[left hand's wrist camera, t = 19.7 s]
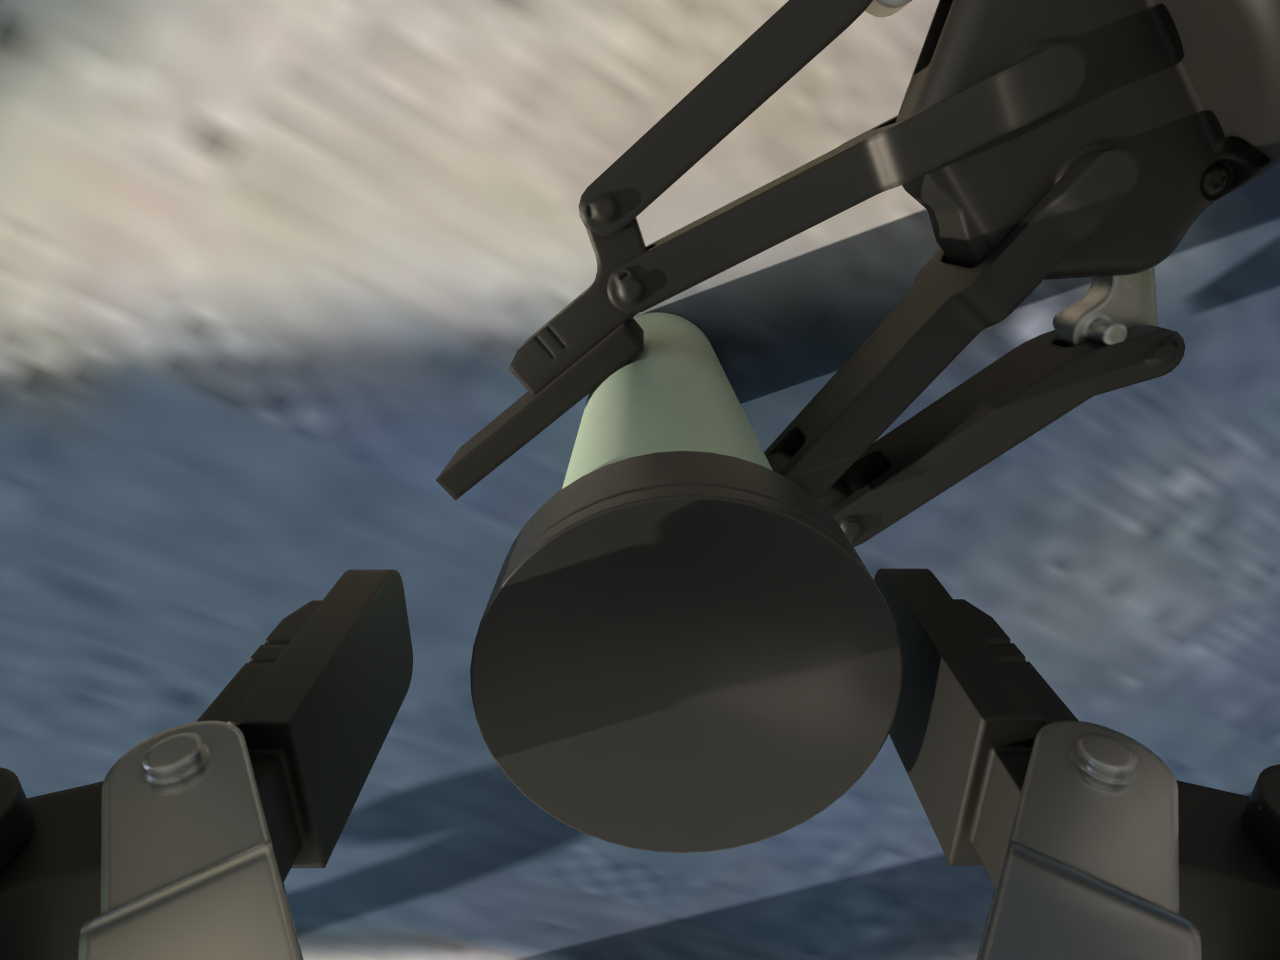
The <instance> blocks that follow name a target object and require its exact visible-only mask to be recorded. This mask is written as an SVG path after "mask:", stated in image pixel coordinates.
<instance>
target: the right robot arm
mask: <svg viewBox="0 0 1280 960" xmlns="http://www.w3.org/2000/svg"><path fill="white" fill-rule="evenodd" d="M911 1H912V0H789V1H788V2H787V3H786V4H785V5H784V6H783V7H782V8H780V9H779V10H778V11H777V12H776V13H775V14H774V15H773V16H772V17H771V18H770V19H769V20H768V21H766V22H765V23H764V24H763V25H762V26H761V27H760V28H759V29H758V30H757V31H756V32H755V33H753V34H752V35H751V36H750V37H749V38H748V39H747V40H746V41H745V42H744V43H743V44H742V45H741V46H739V47H738V48H737V49H736V50H735V51H734V52H733V53H732V54H731V55H730V56H729V57H728V58H727V59H725V60H724V61H723V62H722V63H721V64H720V65H719V66H718V67H717V68H716V69H715V70H714V71H713V72H711V73H710V74H709V75H708V76H707V77H706V78H705V79H704V80H703V81H702V82H701V83H700V84H699V85H697V86H696V87H695V88H694V89H693V90H692V91H691V92H690V93H689V94H688V95H687V96H686V97H684V98H683V99H682V100H681V101H680V102H679V103H678V104H677V105H676V106H675V107H674V108H673V109H672V110H670V111H669V112H668V113H667V114H666V115H665V116H664V117H663V118H662V119H661V120H660V121H659V122H658V123H656V124H655V125H654V126H653V127H652V128H651V129H650V130H649V131H648V132H647V133H646V134H645V135H644V136H642V137H641V138H640V139H639V140H638V141H637V142H636V143H635V144H634V145H633V146H632V147H631V148H630V149H628V150H627V151H626V152H625V153H624V154H623V155H622V156H621V157H620V158H619V159H618V160H617V161H615V162H614V163H613V164H612V165H611V166H610V167H609V168H608V169H607V170H606V171H605V172H604V173H603V174H601V175H600V176H599V177H598V178H597V179H596V180H595V181H594V182H593V183H592V184H591V185H590V186H589V187H588V188H587V189H586V190H585V192H584V193H583V194H582V196H581V200H580V204H579V211H580V217H581V219H582V221H583V223H584V225H585V227H586V229H587V232H588V235H589V238H590V241H591V244H592V247H593V249H594V252H595V255H596V259H597V275H596V279H595V281H594V283H593V284H592V285H591V286H590V287H589V288H588V289H587V290H585V291H584V292H583V293H582V294H581V295H579V296H578V297H577V298H576V299H575V300H574V301H572V302H571V303H570V304H569V305H568V306H567V307H565V308H564V309H563V310H562V311H561V312H559V313H558V314H557V315H556V316H555V317H554V318H552V319H551V320H550V321H549V322H548V323H547V324H545V325H544V326H543V327H542V328H541V329H539V330H538V331H537V332H536V333H535V334H534V335H532V336H531V337H530V338H529V339H528V340H527V341H526V342H525V343H524V344H523V345H522V346H521V347H520V349H519V350H518V351H517V353H516V355H515V357H514V359H513V361H512V363H511V365H510V367H509V370H510V371H511V372H512V373H513V374H514V375H515V377H516V378H517V379H518V380H519V381H520V382H521V383H522V385H523V386H524V387H525V388H526V389H527V390H528V392H527V393H526V394H524V395H523V396H522V397H521V398H520V399H518V400H517V401H516V402H515V403H514V404H512V405H511V406H510V407H509V408H508V409H506V410H505V411H504V412H503V413H501V414H500V415H499V416H498V417H497V418H495V419H494V420H493V421H492V422H491V423H489V424H488V425H487V426H486V427H485V428H483V429H482V430H481V431H480V432H478V433H477V434H476V435H475V436H474V437H472V438H471V439H470V440H469V441H468V442H466V443H465V444H464V445H463V446H462V447H460V449H459V450H458V451H457V453H456V454H455V455H454V457H453V458H452V459H451V461H450V462H449V463H448V465H447V466H446V467H445V469H444V470H443V471H442V473H441V474H440V475H439V477H438V478H437V479H436V481H437V482H438V483H439V484H440V485H441V486H442V487H443V488H444V489H445V490H446V491H447V492H448V493H449V494H450V495H451V496H452V497H453V498H454V499H455V500H457V499H458V498H459V497H460V496H462V495H463V494H464V493H465V492H467V491H468V490H469V489H470V488H472V487H473V486H474V485H475V484H477V483H478V482H479V481H480V480H482V479H483V478H484V477H485V476H487V475H488V474H489V473H490V472H492V471H493V470H494V469H495V468H497V467H498V466H499V465H500V464H501V463H503V462H504V461H505V460H506V459H508V458H509V457H510V456H511V455H513V454H514V453H515V452H516V451H518V450H519V449H520V448H521V447H523V446H524V445H525V444H526V443H528V442H529V441H530V440H531V439H533V438H534V437H535V436H536V435H538V434H539V433H540V432H541V431H543V430H544V429H545V428H546V427H548V426H549V425H550V424H551V423H553V422H554V421H555V420H556V419H558V418H559V417H560V416H561V415H562V414H564V413H565V412H566V411H567V410H569V409H570V408H571V407H572V406H574V405H575V404H576V403H577V402H579V401H580V400H581V399H582V398H584V397H585V396H586V395H587V394H589V393H590V392H591V391H592V390H594V389H595V388H596V387H597V386H599V385H600V384H601V383H602V382H604V381H605V380H606V379H607V378H608V377H609V376H611V375H612V374H614V373H615V372H616V371H617V370H619V369H620V368H621V367H622V366H623V365H625V364H626V363H627V362H628V361H630V360H631V359H632V358H633V357H635V356H636V355H637V354H638V353H640V352H641V351H642V350H643V349H644V330H643V329H642V328H641V327H640V325H639V324H638V323H637V322H636V320H635V319H634V318H633V317H634V316H635V315H636V314H637V313H639V312H643V311H645V310H647V309H649V308H651V307H653V306H655V305H657V304H659V303H661V302H663V301H665V300H667V299H669V298H671V297H673V296H675V295H677V294H679V293H681V292H683V291H685V290H687V289H689V288H691V287H693V286H695V285H697V284H699V283H701V282H703V281H705V280H707V279H709V278H711V277H713V276H715V275H717V274H719V273H721V272H723V271H725V270H727V269H729V268H731V267H733V266H735V265H737V264H739V263H741V262H743V261H745V260H747V259H749V258H751V257H753V256H755V255H757V254H759V253H761V252H763V251H765V250H767V249H769V248H771V247H773V246H775V245H777V244H779V243H781V242H783V241H785V240H787V239H789V238H791V237H793V236H795V235H797V234H799V233H801V232H803V231H805V230H807V229H809V228H811V227H813V226H815V225H817V224H819V223H821V222H823V221H825V220H827V219H829V218H831V217H833V216H835V215H837V214H839V213H841V212H843V211H845V210H847V209H849V208H851V207H853V206H855V205H857V204H859V203H861V202H863V201H865V200H867V199H869V198H871V197H873V196H875V195H877V194H879V193H881V192H883V191H886V190H889V189H892V188H894V187H897V186H900V185H902V186H903V188H904V189H905V190H906V191H907V192H908V193H909V194H910V195H911V196H912V197H914V198H915V199H916V200H917V201H918V202H919V203H920V204H922V205H923V206H924V207H925V208H926V209H927V210H928V213H929V216H930V220H931V223H932V227H933V231H934V234H935V238H936V241H937V242H938V244H939V246H940V247H941V249H940V250H939V251H938V252H937V253H936V254H935V255H934V257H933V258H932V259H931V260H930V261H929V262H928V263H927V264H926V265H925V266H924V268H923V269H922V270H921V271H920V273H919V274H918V276H917V277H916V280H915V285H914V287H913V288H912V290H911V291H910V292H909V293H908V294H907V295H906V297H905V298H904V299H903V300H902V301H901V302H900V303H899V304H898V305H897V306H896V308H895V309H894V310H893V311H892V312H891V313H890V314H889V315H888V316H887V317H886V319H885V320H884V321H883V322H882V323H881V324H880V325H879V326H878V327H877V328H876V330H875V331H874V332H873V333H872V334H871V335H870V336H869V337H868V338H867V339H866V341H865V342H864V343H863V344H862V345H861V346H860V347H859V348H858V349H857V351H856V352H855V353H854V354H853V355H852V356H851V357H850V358H849V359H848V360H847V362H846V363H845V364H844V365H843V366H842V367H841V368H840V369H839V370H838V371H837V373H836V374H835V375H834V376H833V377H832V378H831V379H830V380H829V381H828V382H827V384H826V385H825V386H824V387H823V388H822V389H821V390H820V391H819V392H818V394H817V395H816V396H815V397H814V398H813V399H812V400H811V401H810V402H809V403H808V405H807V406H806V407H805V408H804V409H803V410H802V411H801V412H800V413H799V414H798V416H797V417H796V418H795V419H794V420H793V421H792V422H791V423H790V424H789V425H788V427H787V428H786V429H785V430H784V431H783V432H782V433H781V434H780V435H779V437H778V438H777V439H776V440H775V441H774V442H773V443H772V444H771V445H770V446H769V448H768V449H767V450H766V451H765V452H764V454H765V456H766V458H767V460H768V462H769V464H770V466H771V468H772V470H773V471H774V472H776V473H779V474H781V475H783V476H785V477H786V478H788V479H789V480H791V481H792V482H794V483H795V484H797V485H798V486H800V487H802V488H803V489H805V490H806V491H807V492H808V493H809V494H810V495H812V496H813V497H814V498H815V499H816V500H817V501H818V502H820V503H821V504H822V505H823V506H824V507H825V508H826V509H827V511H828V512H829V513H830V514H831V515H832V516H833V518H834V519H835V520H836V521H837V522H838V523H839V525H840V527H841V528H842V530H843V531H844V533H845V535H846V536H847V538H848V539H849V541H850V542H851V544H852V546H853V547H855V546H857V545H860V544H862V543H864V542H865V541H867V540H868V539H870V538H872V537H873V536H875V535H876V534H878V533H879V532H881V531H883V530H884V529H886V528H887V527H889V526H890V525H892V524H893V523H895V522H897V521H898V520H900V519H901V518H903V517H904V516H906V515H908V514H909V513H911V512H912V511H914V510H915V509H917V508H919V507H920V506H922V505H923V504H925V503H926V502H928V501H930V500H931V499H933V498H934V497H936V496H937V495H939V494H940V493H942V492H944V491H945V490H947V489H948V488H950V487H951V486H953V485H955V484H956V483H958V482H959V481H961V480H962V479H964V478H966V477H967V476H969V475H970V474H972V473H973V472H975V471H977V470H978V469H980V468H981V467H983V466H984V465H986V464H988V463H989V462H991V461H992V460H994V459H995V458H997V457H998V456H1000V455H1002V454H1003V453H1005V452H1006V451H1008V450H1009V449H1011V448H1013V447H1014V446H1016V445H1017V444H1019V443H1020V442H1022V441H1024V440H1025V439H1027V438H1028V437H1030V436H1031V435H1033V434H1035V433H1036V432H1038V431H1039V430H1041V429H1042V428H1044V427H1045V426H1047V425H1049V424H1050V423H1052V422H1053V421H1055V420H1056V419H1058V418H1060V417H1061V416H1063V415H1064V414H1066V413H1067V412H1069V411H1071V410H1072V409H1074V408H1075V407H1077V406H1078V405H1080V404H1082V403H1083V402H1085V401H1086V400H1088V399H1089V398H1091V397H1093V396H1095V395H1098V394H1102V393H1105V392H1109V391H1112V390H1116V389H1119V388H1122V387H1126V386H1129V385H1133V384H1136V383H1140V382H1143V381H1146V380H1150V379H1153V378H1157V377H1160V376H1163V375H1165V374H1167V373H1169V372H1171V371H1172V370H1173V369H1174V368H1175V367H1176V366H1177V365H1179V363H1180V361H1181V359H1182V358H1183V356H1184V350H1185V344H1184V340H1183V338H1182V337H1181V336H1180V335H1179V334H1178V333H1177V332H1175V331H1172V330H1169V329H1165V328H1160V327H1158V325H1157V308H1156V290H1155V271H1154V266H1156V265H1157V264H1159V263H1160V262H1162V261H1163V260H1164V259H1165V258H1167V257H1168V256H1169V255H1170V254H1171V253H1172V252H1173V250H1174V249H1175V248H1176V247H1177V246H1178V244H1179V243H1180V241H1181V240H1182V238H1183V236H1184V235H1185V233H1186V231H1187V230H1188V229H1189V227H1190V226H1191V225H1192V223H1193V222H1194V221H1195V220H1196V218H1197V217H1198V216H1199V215H1200V214H1201V213H1202V212H1203V211H1204V210H1205V209H1206V208H1207V207H1208V206H1209V205H1210V204H1212V203H1213V202H1214V201H1216V200H1218V199H1219V198H1221V197H1222V196H1224V195H1226V194H1228V193H1229V192H1231V191H1233V190H1235V189H1237V188H1238V187H1240V186H1242V185H1244V184H1245V183H1247V182H1249V181H1251V180H1252V179H1254V178H1256V177H1257V176H1259V175H1261V174H1262V173H1264V172H1266V171H1267V170H1269V169H1270V168H1272V167H1274V166H1275V165H1276V164H1278V163H1279V162H1280V0H940V1H939V4H938V6H937V9H936V12H935V15H934V17H933V20H932V23H931V26H930V28H929V31H928V34H927V37H926V39H925V42H924V45H923V48H922V50H921V53H920V56H919V59H918V61H917V64H916V67H915V70H914V72H913V75H912V78H911V81H910V83H909V86H908V89H907V92H906V94H905V97H904V100H903V103H902V105H901V108H900V111H899V114H898V116H896V117H894V118H892V119H890V120H888V121H886V122H884V123H882V124H880V125H878V126H876V127H874V128H872V129H871V130H869V131H867V132H865V133H863V134H861V135H859V136H857V137H855V138H853V139H851V140H849V141H847V142H846V143H844V144H842V145H841V146H839V147H838V148H836V149H834V150H832V151H830V152H828V153H826V154H824V155H822V156H820V157H818V158H817V159H815V160H813V161H811V162H809V163H807V164H805V165H803V166H801V167H799V168H797V169H795V170H793V171H791V172H789V173H787V174H786V175H784V176H782V177H780V178H778V179H776V180H774V181H772V182H770V183H768V184H766V185H764V186H762V187H760V188H758V189H757V190H755V191H753V192H751V193H749V194H747V195H745V196H743V197H741V198H739V199H737V200H735V201H733V202H731V203H729V204H727V205H726V206H724V207H722V208H720V209H718V210H716V211H714V212H712V213H710V214H708V215H706V216H704V217H702V218H700V219H698V220H696V221H695V222H693V223H691V224H689V225H687V226H685V227H683V228H681V229H679V230H677V231H675V232H673V233H671V234H669V235H667V236H665V237H664V238H662V239H660V240H658V241H656V242H654V243H652V244H650V245H648V246H645V243H644V240H643V237H642V234H641V231H640V228H639V225H638V222H637V219H636V216H637V215H639V214H640V213H641V212H642V211H643V210H644V209H645V208H646V207H648V206H649V205H650V204H651V203H652V202H653V201H654V200H655V199H656V198H658V197H659V196H660V195H661V194H662V193H663V192H664V191H665V190H667V189H668V188H669V187H670V186H671V185H672V184H673V183H674V182H675V181H677V180H678V179H679V178H680V177H681V176H682V175H683V174H684V173H686V172H687V171H688V170H689V169H690V168H691V167H692V166H693V165H694V164H696V163H697V162H698V161H699V160H700V159H701V158H702V157H703V156H705V155H706V154H707V153H708V152H709V151H710V150H711V149H712V148H713V147H715V146H716V145H717V144H718V143H719V142H720V141H721V140H722V139H724V138H725V137H726V136H727V135H728V134H729V133H730V132H731V131H732V130H734V129H735V128H736V127H737V126H738V125H739V124H740V123H741V122H743V121H744V120H745V119H746V118H747V117H748V116H749V115H750V114H751V113H753V112H754V111H755V110H756V109H757V108H758V107H759V106H760V105H762V104H763V103H764V102H765V101H766V100H767V99H768V98H769V97H771V96H772V95H773V94H774V93H775V92H776V91H777V90H778V89H779V88H781V87H782V86H783V85H784V84H785V83H786V82H787V81H788V80H790V79H791V78H792V77H793V76H794V75H795V74H796V73H797V72H798V71H800V70H801V69H802V68H803V67H804V66H805V65H806V64H807V63H809V62H810V61H811V60H812V59H813V58H814V57H815V56H816V55H817V54H819V53H820V52H821V51H822V50H823V49H824V48H825V47H826V46H828V45H829V44H830V43H831V42H832V41H833V40H834V39H835V38H836V37H838V36H839V35H840V34H841V33H842V32H843V31H844V30H845V29H847V28H848V27H849V26H850V25H851V24H852V23H853V22H854V21H855V20H856V19H857V18H858V17H859V16H860V15H861V14H862V13H863V12H864V11H866V12H868V13H869V14H871V15H873V16H875V17H887V16H891V15H892V14H894V13H896V12H898V11H899V10H900V9H901V8H903V7H904V6H905V5H907V4H908V3H909V2H911ZM1082 277H1092V282H1091V285H1090V288H1089V290H1088V291H1087V293H1086V294H1085V295H1084V296H1083V297H1082V298H1081V299H1080V300H1079V301H1077V302H1076V303H1074V304H1072V305H1071V306H1069V307H1067V308H1066V309H1065V310H1062V311H1060V312H1058V313H1057V314H1056V315H1055V317H1054V319H1053V326H1054V328H1055V330H1053V331H1050V332H1048V333H1045V334H1042V335H1039V336H1037V337H1035V338H1033V339H1031V340H1029V341H1027V342H1025V343H1023V344H1021V345H1020V346H1018V347H1016V348H1015V349H1013V350H1011V351H1010V352H1008V353H1007V354H1005V355H1004V356H1002V357H1001V358H999V359H998V360H996V361H995V362H993V363H992V364H990V365H989V366H987V367H986V368H984V369H983V370H981V371H980V372H978V373H977V374H976V375H974V376H973V377H971V378H970V379H968V380H967V381H965V382H964V383H962V384H961V385H959V386H958V387H956V388H955V389H953V390H952V391H950V392H949V393H947V394H946V395H944V396H943V397H941V398H940V399H938V400H937V401H935V402H934V403H932V404H931V405H929V406H928V407H926V408H925V409H924V410H922V411H921V412H919V413H918V414H916V415H915V416H913V417H912V418H910V419H909V420H907V421H906V422H904V423H903V424H901V425H900V426H898V427H897V428H895V429H894V430H892V431H891V432H889V433H888V434H886V435H885V436H883V437H882V438H880V439H879V440H877V441H876V442H875V440H876V439H877V438H878V437H879V436H880V435H881V434H882V433H883V432H884V431H885V430H886V429H887V428H888V427H889V426H890V425H891V424H892V423H893V422H894V421H895V420H896V419H897V418H898V417H899V416H900V415H901V413H902V412H903V411H904V410H905V409H906V408H907V407H908V406H909V405H910V404H911V403H912V402H913V401H914V400H915V399H916V398H917V397H918V396H919V395H920V394H921V393H922V392H923V391H924V390H925V389H926V388H927V386H928V385H929V384H930V383H931V382H932V381H933V380H934V379H935V378H936V377H937V376H938V375H939V374H940V373H941V372H942V371H943V370H944V369H945V368H946V367H947V366H948V365H949V364H950V363H951V362H952V361H953V359H954V358H955V357H956V356H957V355H958V354H959V353H960V352H961V351H962V350H963V349H964V348H965V347H966V346H967V345H968V344H969V343H970V342H971V341H972V340H973V339H974V338H975V337H976V336H977V335H978V334H979V333H980V332H981V331H982V330H984V329H985V328H987V327H990V326H992V325H995V324H997V323H999V322H1000V321H1002V320H1004V319H1005V318H1006V317H1007V316H1008V315H1009V314H1011V313H1012V312H1013V311H1014V309H1015V308H1016V307H1017V306H1018V305H1019V304H1020V303H1021V302H1022V301H1023V300H1024V299H1025V298H1026V297H1027V296H1028V295H1029V294H1030V293H1031V292H1032V291H1033V290H1034V289H1035V288H1036V287H1037V286H1038V285H1039V284H1040V283H1041V282H1042V281H1043V280H1044V279H1063V278H1082ZM874 442H875V443H874Z"/></svg>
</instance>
